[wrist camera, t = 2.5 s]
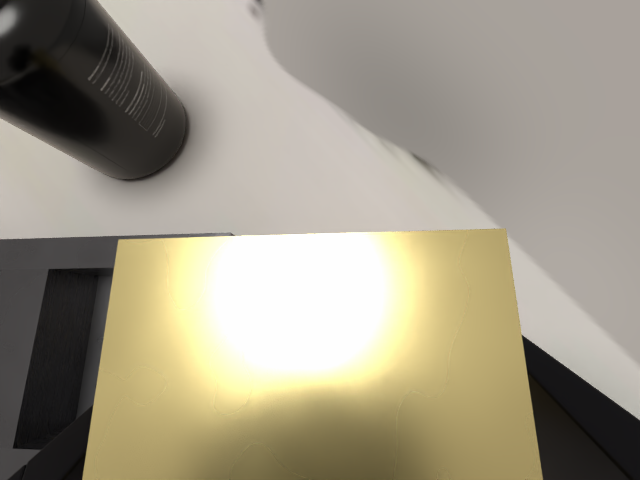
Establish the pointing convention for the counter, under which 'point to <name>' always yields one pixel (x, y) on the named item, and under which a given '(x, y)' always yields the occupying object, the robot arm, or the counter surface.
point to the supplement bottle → (85, 87)
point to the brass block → (314, 360)
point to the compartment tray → (51, 335)
